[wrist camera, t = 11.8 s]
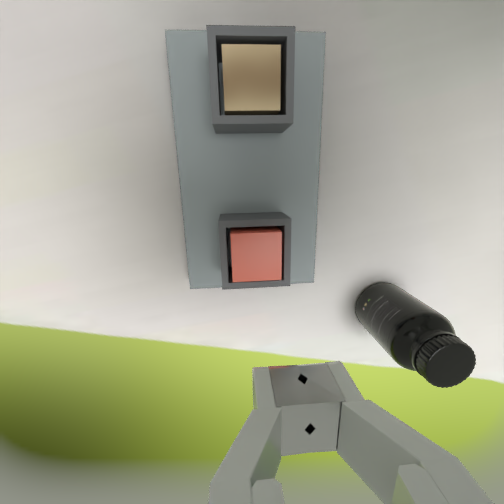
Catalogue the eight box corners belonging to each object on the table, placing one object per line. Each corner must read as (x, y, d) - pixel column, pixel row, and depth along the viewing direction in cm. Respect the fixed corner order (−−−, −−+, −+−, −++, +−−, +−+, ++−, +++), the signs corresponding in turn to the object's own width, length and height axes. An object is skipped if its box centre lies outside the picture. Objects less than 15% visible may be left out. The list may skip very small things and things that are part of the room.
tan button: (223, 66, 23) (221, 44, 19) (272, 66, 23) (280, 44, 19) (225, 121, 24) (224, 110, 20) (272, 120, 24) (280, 110, 20)
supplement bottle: (412, 290, 34) (503, 347, 23) (387, 332, 36) (460, 405, 24) (369, 273, 33) (442, 324, 22) (344, 318, 35) (400, 387, 23)
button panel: (172, 46, 25) (148, -8, 18) (315, 48, 26) (348, -3, 18) (193, 278, 31) (182, 309, 24) (306, 273, 32) (328, 300, 25)
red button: (230, 225, 26) (230, 233, 22) (274, 223, 26) (281, 231, 22) (232, 267, 27) (232, 282, 23) (274, 265, 27) (281, 279, 23)
